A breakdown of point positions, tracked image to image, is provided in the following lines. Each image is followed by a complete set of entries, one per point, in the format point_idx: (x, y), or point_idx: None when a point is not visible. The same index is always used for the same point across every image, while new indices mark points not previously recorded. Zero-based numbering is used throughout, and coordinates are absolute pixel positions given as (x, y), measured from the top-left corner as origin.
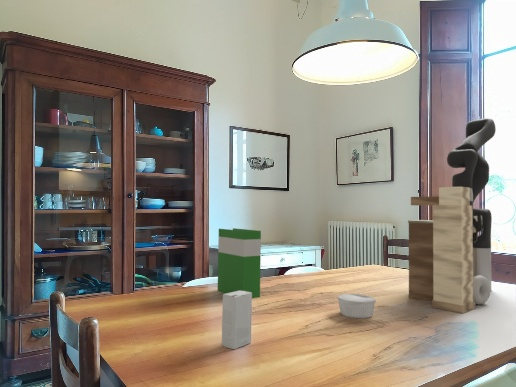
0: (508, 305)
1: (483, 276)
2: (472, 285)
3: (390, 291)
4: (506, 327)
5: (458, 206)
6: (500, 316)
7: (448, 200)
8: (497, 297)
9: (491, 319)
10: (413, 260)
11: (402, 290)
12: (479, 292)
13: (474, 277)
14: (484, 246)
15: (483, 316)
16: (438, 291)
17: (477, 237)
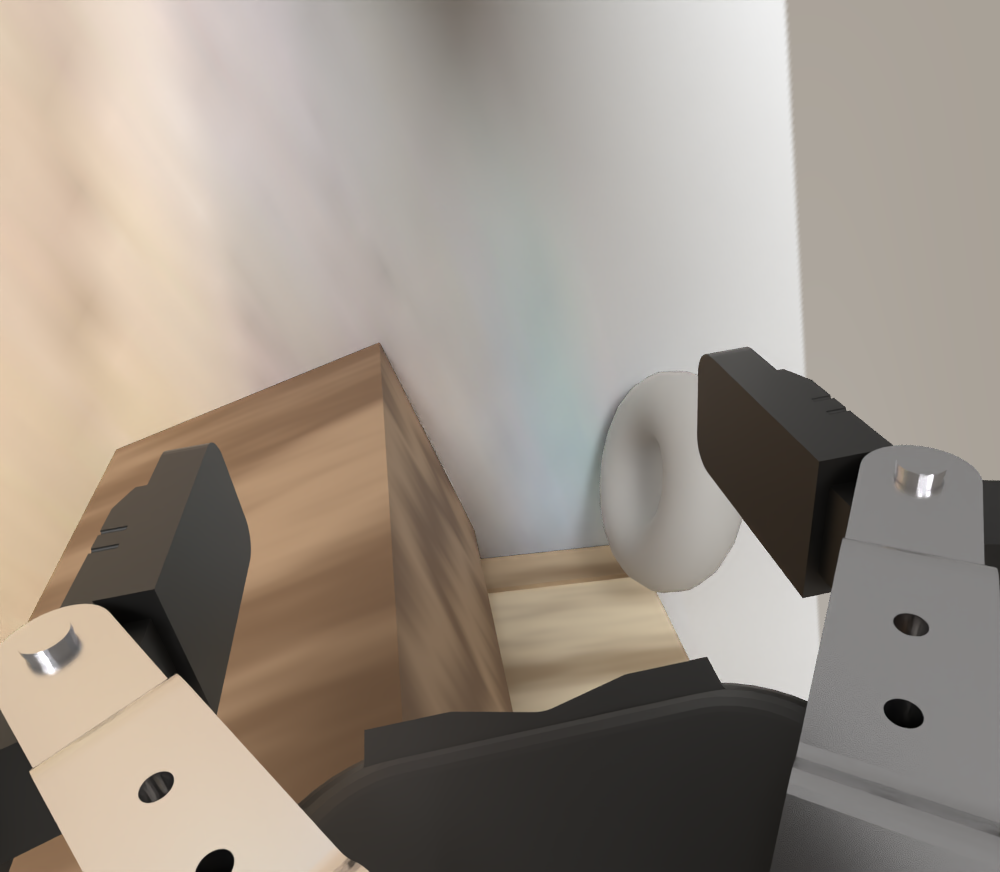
0: (782, 290)
1: (734, 522)
2: (682, 654)
3: (15, 567)
4: (805, 687)
5: None
6: (770, 571)
7: None
8: (674, 26)
9: (744, 641)
10: None
11: (18, 466)
12: (649, 438)
13: (678, 581)
14: None
15: (708, 627)
16: None
17: (841, 418)
